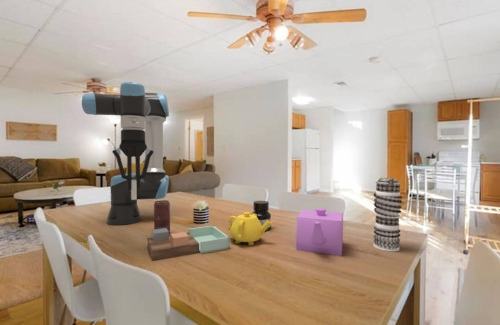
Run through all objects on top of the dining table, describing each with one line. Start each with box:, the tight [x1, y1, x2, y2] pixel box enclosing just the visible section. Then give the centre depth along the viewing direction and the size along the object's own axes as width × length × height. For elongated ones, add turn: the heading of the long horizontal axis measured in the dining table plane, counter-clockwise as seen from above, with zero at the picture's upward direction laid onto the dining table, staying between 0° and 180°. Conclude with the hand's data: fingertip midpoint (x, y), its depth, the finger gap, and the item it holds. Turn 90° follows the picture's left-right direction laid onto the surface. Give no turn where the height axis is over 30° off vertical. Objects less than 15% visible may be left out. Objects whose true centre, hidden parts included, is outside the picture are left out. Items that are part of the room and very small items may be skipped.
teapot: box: [226, 211, 273, 246], centre depth 101 cm, size 14×14×11 cm
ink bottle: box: [250, 200, 272, 231], centre depth 118 cm, size 10×9×12 cm
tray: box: [187, 225, 231, 255], centre depth 98 cm, size 17×10×4 cm, turn 28°
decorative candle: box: [373, 177, 403, 252], centre depth 95 cm, size 9×9×25 cm
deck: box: [147, 232, 200, 261], centre depth 92 cm, size 14×15×3 cm
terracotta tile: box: [169, 231, 189, 247], centre depth 89 cm, size 5×5×3 cm
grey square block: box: [151, 228, 170, 242], centre depth 94 cm, size 5×5×3 cm
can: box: [153, 199, 171, 235], centre depth 108 cm, size 6×6×14 cm
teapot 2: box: [295, 207, 344, 257], centre depth 94 cm, size 15×25×14 cm, turn 159°
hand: (133, 198), depth 89 cm, fingers closed
